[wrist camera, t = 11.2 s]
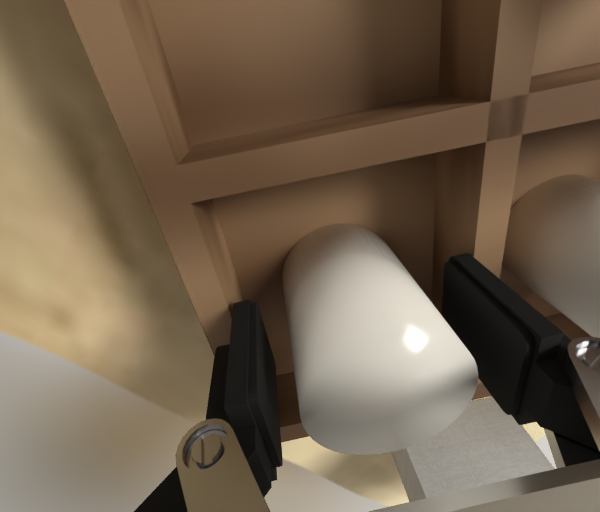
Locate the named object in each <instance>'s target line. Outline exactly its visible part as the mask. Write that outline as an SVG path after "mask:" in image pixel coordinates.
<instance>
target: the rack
mask: <svg viewBox="0 0 600 512" xmlns="http://www.w3.org/2000/svg"><path fill="white" fill-rule="evenodd" d="M64 2H65V4H66V7H67V9H68V11H69V14H70V16H71V19H72V21H73V23H74V26H75V28H76V30H77V33H78V35H79V37H80V40H81V42H82V44H83V47H84V49H85V52H86V54H87V56H88V59H89V61H90V63H91V66H92V68H93V70H94V73H95V75H96V78H97V80H98V82H99V85H100V87H101V89H102V92H103V94H104V96H105V99H106V101H107V103H108V106H109V108H110V111H111V113H112V115H113V118H114V120H115V122H116V125H117V127H118V129H119V132H120V134H121V136H122V139H123V141H124V144H125V146H126V148H127V151H128V153H129V155H130V158H131V160H132V162H133V165H134V167H135V170H136V172H137V174H138V177H139V179H140V181H141V184H142V186H143V188H144V191H145V193H146V195H147V198H148V200H149V203H150V205H151V207H152V210H153V212H154V214H155V217H156V219H157V221H158V224H159V226H160V228H161V231H162V233H163V236H164V238H165V240H166V243H167V245H168V247H169V250H170V252H171V254H172V257H173V259H174V262H175V264H176V266H177V269H178V271H179V273H180V276H181V278H182V280H183V283H184V285H185V287H186V290H187V292H188V295H189V297H190V299H191V302H192V304H193V306H194V309H195V311H196V313H197V316H198V318H199V321H200V323H201V325H202V328H203V330H204V332H205V335H206V337H207V339H208V342H209V344H210V346H211V349H212V351H213V354H214V356H215V351H216V348H217V347H218V346H223V345H227V344H230V334H231V323H232V313H233V304H234V303H236V302H241V301H245V300H251V302H252V303H258V306H259V310H260V313H261V316H262V320H263V323H264V326H265V330H266V333H267V336H268V340H269V343H270V346H271V350H272V353H273V356H274V360H275V366H276V378H277V392H278V406H279V420H280V434H281V442H285V441H289V440H294V439H298V438H303V437H307V436H309V435H308V434H307V432H306V431H305V429H304V427H303V425H302V422H301V418H300V412H299V404H298V396H297V389H296V381H295V374H294V366H293V359H292V351H291V344H290V336H289V329H288V321H287V313H286V306H285V298H284V291H283V283H282V272H283V266H284V263H285V260H286V258H287V256H288V254H289V253H290V251H291V250H292V248H293V247H294V246H295V245H296V244H297V243H298V242H299V241H300V240H301V239H302V238H303V237H305V236H306V235H308V234H309V233H311V232H313V231H314V230H316V229H319V228H321V227H324V226H328V225H332V224H338V223H350V224H357V225H361V226H364V227H366V228H369V229H371V230H372V231H374V232H375V233H377V234H378V235H379V236H380V237H381V238H382V239H383V240H384V241H385V242H386V244H387V245H388V246H389V248H390V249H391V250H392V251H393V253H394V254H395V255H396V257H397V258H398V259H399V261H400V262H401V263H402V264H403V266H404V267H405V268H406V270H407V271H408V272H409V274H410V275H411V276H412V278H413V279H414V280H415V281H416V283H417V284H418V285H419V287H420V288H421V289H422V291H423V292H424V293H425V294H426V296H427V297H428V298H429V300H430V301H431V302H432V304H433V305H434V306H435V308H436V309H437V310H438V311H439V313H440V314H441V315H442V297H443V278H444V264H445V262H448V261H449V258H450V257H451V256H456V255H461V254H465V253H469V254H470V255H472V256H473V257H474V258H475V259H476V260H478V261H479V262H480V263H481V264H482V265H484V266H485V267H486V268H487V269H488V270H490V271H491V272H492V273H493V274H494V275H495V276H497V277H498V278H499V279H500V280H501V281H503V282H504V283H505V284H506V285H507V286H509V287H510V288H511V289H512V290H513V291H515V292H516V293H517V294H518V295H519V296H521V297H522V298H523V299H524V300H525V301H526V302H528V303H529V304H530V305H531V306H532V307H534V308H535V309H536V310H537V311H538V312H540V313H541V314H542V315H543V316H544V317H546V318H547V319H548V320H549V321H550V322H552V323H553V324H554V325H555V326H556V327H557V328H559V329H560V330H561V331H562V332H563V333H564V334H565V335H566V336H567V337H568V338H569V339H570V340H574V339H576V338H580V337H592V336H590V335H589V334H588V333H587V332H585V331H584V330H583V329H582V328H580V327H579V326H578V325H576V324H575V323H574V322H573V321H571V320H570V319H569V318H567V317H566V316H565V315H564V314H562V313H561V312H560V311H559V310H557V309H556V308H555V307H553V306H552V305H551V304H550V303H548V302H547V301H546V300H544V299H543V298H542V297H541V296H539V295H538V294H537V293H536V292H534V291H533V290H532V289H530V288H529V287H528V286H527V285H525V284H524V283H523V282H521V281H520V280H519V279H518V278H516V277H515V276H514V275H513V274H511V273H510V272H509V271H507V270H506V269H505V268H504V267H503V266H502V260H503V254H504V247H505V241H506V235H507V228H508V222H509V216H510V210H511V208H512V207H513V206H514V205H515V204H516V203H517V201H518V200H519V199H520V198H522V197H523V196H524V195H525V194H526V193H527V192H529V191H530V190H531V189H533V188H534V187H536V186H537V185H539V184H541V183H543V182H545V181H547V180H549V179H552V178H554V177H558V176H562V175H568V174H579V175H584V176H587V177H591V178H594V179H597V180H600V0H64ZM487 396H491V394H490V393H489V391H488V390H487V389H486V387H485V386H484V385H483V383H482V382H481V381H480V379H479V378H478V383H477V387H476V391H475V393H474V396H473V398H472V400H473V399H478V398H482V397H487Z"/></svg>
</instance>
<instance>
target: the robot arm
mask: <svg viewBox="0 0 600 512" xmlns="http://www.w3.org/2000/svg"><path fill="white" fill-rule="evenodd" d="M442 317H443V318H444V319H445V321H446V322H447V323H448V324H449V326H450V327H451V328H452V330H453V331H454V332H455V334H456V335H457V336H458V338H459V339H460V340H461V341H462V343H463V344H464V345H465V347H466V348H467V349H468V351H469V352H470V353H471V355H472V356H473V358H474V360H475V362H476V365H477V369H478V378H479V379H480V381H481V382H482V383H483V385H484V386H485V387H486V389H487V390H488V391H489V393H490V394H491V395H492V397H493V398H494V400H495V401H496V402H497V404H498V405H499V406H500V408H501V409H502V410H503V411H504V413H506V414H507V415H512V416H513V418H514V419H515V420H516V422H517V423H518V424H519V425H523V424H527V423H532V422H537V423H538V424H539V426H540V427H543V428H544V430H545V433H546V436H547V439H548V442H549V445H550V449H551V452H552V455H553V458H554V461H555V464H556V467H557V469H553V470H549V471H544V472H540V473H535V474H531V475H526V476H522V477H517V478H513V479H509V480H504V481H500V482H495V483H491V484H487V485H482V486H478V487H473V488H469V489H465V490H460V491H456V492H452V493H447V494H443V495H439V496H434V497H430V498H425V499H421V500H417V501H412V502H408V503H404V504H400V505H395V506H391V507H387V508H383V509H378V510H374V511H370V512H600V338H597V337H580V338H576V339H574V340H570V339H569V338H568V337H567V336H566V335H565V334H564V333H563V332H562V331H561V330H560V329H559V328H557V327H556V326H555V325H554V324H553V323H552V322H550V321H549V320H548V319H547V318H546V317H544V316H543V315H542V314H541V313H540V312H538V311H537V310H536V309H535V308H534V307H532V306H531V305H530V304H529V303H528V302H526V301H525V300H524V299H523V298H522V297H521V296H519V295H518V294H517V293H516V292H515V291H513V290H512V289H511V288H510V287H509V286H507V285H506V284H505V283H504V282H503V281H501V280H500V279H499V278H498V277H497V276H495V275H494V274H493V273H492V272H491V271H490V270H488V269H487V268H486V267H485V266H484V265H482V264H481V263H480V262H479V261H478V260H476V259H475V258H474V257H473V256H472V255H470V254H469V253H465V254H461V255H456V256H451V257H450V258H449V261H448V262H445V264H444V278H443V297H442ZM176 465H177V467H176V468H175V469H174V470H173V471H172V472H171V473H170V474H169V475H168V476H167V477H166V478H165V480H164V481H163V482H162V483H161V484H160V485H159V486H158V487H157V488H156V489H155V490H154V491H153V492H152V493H151V494H150V495H149V496H148V497H147V498H146V500H145V501H144V502H143V503H142V504H141V505H140V506H139V507H138V508H137V509H136V510H135V511H134V512H270V510H269V508H268V506H267V503H266V501H265V499H264V497H265V495H266V494H267V492H268V491H269V490H270V488H271V481H274V480H277V471H276V467H280V466H282V448H281V434H280V420H279V406H278V392H277V378H276V366H275V360H274V356H273V353H272V350H271V346H270V343H269V340H268V336H267V333H266V330H265V326H264V323H263V320H262V316H261V313H260V310H259V306H258V303H252V302H251V300H245V301H241V302H236V303H234V304H233V313H232V323H231V334H230V344H227V345H223V346H218V347H217V348H216V351H215V358H214V365H213V372H212V379H211V386H210V393H209V400H208V407H207V414H206V420H205V421H202V422H200V423H198V424H196V425H195V426H194V427H193V428H191V429H190V430H189V431H188V432H187V433H186V434H185V436H184V437H183V438H182V440H181V442H180V444H179V446H178V449H177V452H176Z"/></svg>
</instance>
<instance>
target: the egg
mask: <svg viewBox="0 0 600 512" xmlns="http://www.w3.org/2000/svg"><path fill="white" fill-rule="evenodd" d="M282 283H283V291H284V298H285V306H286V313H287V321H288V329H289V336H290V344H291V351H292V359H293V366H294V374H295V381H296V389H297V396H298V404H299V412H300V418H301V422H302V425H303V427H304V429H305V431H306V432H307V434H308V435H309V436H310V437H311V438H312V439H313V440H314V441H316V442H317V443H318V444H320V445H322V446H324V447H326V448H328V449H330V450H333V451H336V452H340V453H345V454H352V455H375V454H384V453H389V452H394V451H398V450H402V449H405V448H408V447H411V446H413V445H416V444H418V443H421V442H423V441H425V440H427V439H429V438H431V437H432V436H434V435H436V434H437V433H439V432H441V431H442V430H443V429H445V428H446V427H448V426H449V425H450V424H451V423H452V422H453V421H455V420H456V419H457V418H458V417H459V416H460V415H461V414H462V412H463V411H464V410H465V409H466V407H467V406H468V405H469V403H470V401H471V400H472V398H473V396H474V393H475V391H476V387H477V383H478V369H477V365H476V362H475V360H474V358H473V356H472V355H471V353H470V352H469V351H468V349H467V348H466V347H465V345H464V344H463V343H462V341H461V340H460V339H459V338H458V336H457V335H456V334H455V332H454V331H453V330H452V328H451V327H450V326H449V324H448V323H447V322H446V321H445V319H444V318H443V317H442V315H441V314H440V313H439V311H438V310H437V309H436V308H435V306H434V305H433V304H432V302H431V301H430V300H429V298H428V297H427V296H426V294H425V293H424V292H423V291H422V289H421V288H420V287H419V285H418V284H417V283H416V281H415V280H414V279H413V278H412V276H411V275H410V274H409V272H408V271H407V270H406V268H405V267H404V266H403V264H402V263H401V262H400V261H399V259H398V258H397V257H396V255H395V254H394V253H393V251H392V250H391V249H390V248H389V246H388V245H387V244H386V242H385V241H384V240H383V239H382V238H381V237H380V236H379V235H378V234H377V233H375V232H374V231H372V230H371V229H369V228H366V227H364V226H361V225H357V224H350V223H338V224H332V225H328V226H324V227H321V228H319V229H316V230H314V231H313V232H311V233H309V234H308V235H306V236H305V237H303V238H302V239H301V240H300V241H299V242H298V243H297V244H296V245H295V246H294V247H293V248H292V250H291V251H290V253H289V254H288V256H287V258H286V260H285V263H284V266H283V272H282Z"/></svg>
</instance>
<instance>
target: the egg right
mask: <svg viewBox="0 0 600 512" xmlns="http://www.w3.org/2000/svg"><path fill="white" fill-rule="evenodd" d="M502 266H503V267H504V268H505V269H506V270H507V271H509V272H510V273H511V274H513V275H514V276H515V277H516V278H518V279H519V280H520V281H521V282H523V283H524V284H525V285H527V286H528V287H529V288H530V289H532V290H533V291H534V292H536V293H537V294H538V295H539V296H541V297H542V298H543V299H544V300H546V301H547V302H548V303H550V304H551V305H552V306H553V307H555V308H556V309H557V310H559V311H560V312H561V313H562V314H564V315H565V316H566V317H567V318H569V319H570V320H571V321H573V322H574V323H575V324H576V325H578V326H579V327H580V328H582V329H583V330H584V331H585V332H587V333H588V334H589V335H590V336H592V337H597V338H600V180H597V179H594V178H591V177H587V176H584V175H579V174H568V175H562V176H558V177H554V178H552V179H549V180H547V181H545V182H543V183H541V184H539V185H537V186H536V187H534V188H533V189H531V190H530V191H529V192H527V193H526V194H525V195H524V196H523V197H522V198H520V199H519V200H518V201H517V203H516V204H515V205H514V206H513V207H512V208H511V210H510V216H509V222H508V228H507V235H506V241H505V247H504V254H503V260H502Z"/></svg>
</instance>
